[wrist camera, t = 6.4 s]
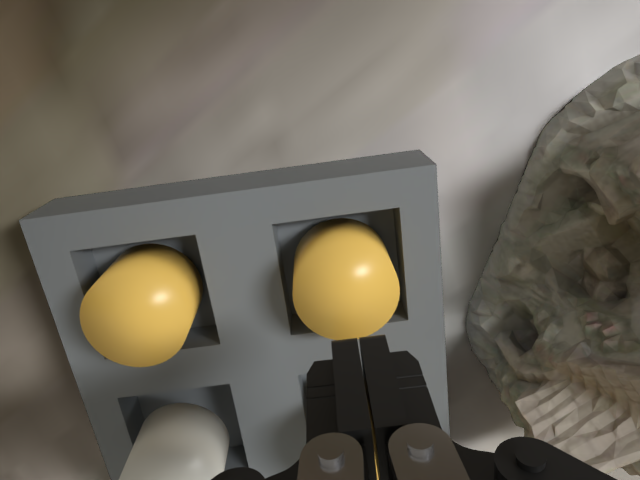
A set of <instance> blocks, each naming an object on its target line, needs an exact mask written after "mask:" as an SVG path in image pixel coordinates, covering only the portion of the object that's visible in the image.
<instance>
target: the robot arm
mask: <svg viewBox="0 0 640 480" xmlns="http://www.w3.org/2000/svg"><path fill="white" fill-rule="evenodd" d="M359 343H360V352H361V360H360V353H359V347H358V341H357V338H351V339H342V340H334V341H331V346H332V359H330V360H321V361H314V362H313V364H312V366H311V367H310V369H309V371H308V372H307V392H306V398H307V401H306V445H305V446H304V448H303V449H302V451H301V454H300V458H299V460H298V461H297V462H296V463H295V464H293V465H292V466H291V467H289V468H288V469H286V470H284V471H282V472H280V473H277V474H275V475H272V476H270V477H267V478H264V476H263V475H262V474H261V473H260V472H258V471H257V470H255V469H252V468H248V467H236V468H231V469H228V470H225V471H223V472H221V473H219V474H218V475H216V476H215V477H214V478H213V479H211V480H377V472H378V478H379V480H617V479H615V478H613V477H611V476H609V475H607V474H605V473H603V472H601V471H600V470H598V469H596V468H594V467H592V466H590V465H588V464H586V463H585V462H583V461H581V460H579V459H577V458H575V457H573V456H571V455H569V454H568V453H566V452H564V451H562V450H560V449H558V448H556V447H554V446H553V445H551V444H549V443H547V442H544V441H542V440H539V439H536V438H531V437H515V438H511V439H508V440H506V441H504V442H502V443H501V444H500V445H499V446H498V447H497V449H496V451H495V453H491V452H484V451H477V450H472V449H469V448H465V447H463V446H461V445H458V444H457V443H455V442H453V441H452V440H451V438H450V437H449V435H448V434H447V433H446V432H445V431H443V430H442V428H441V425H440V422H439V420H438V417H437V414H436V411H435V408H434V405H433V402H432V399H431V396H430V393H429V390H428V387H427V385H426V382H425V379H424V376H423V373H422V370H421V367H420V364H419V361H418V360H417V359H416V358H415V357H414V356H413V355H411V354H410V353H409V352H408V351H407V350H406V351H397V352H390V351H389V347H388V343H387V339H386V336H385V334H384V335H375V336H367V337H359ZM361 361H362V366H361ZM362 370H363V372H362ZM374 453H375V454H374ZM375 459H376V463H375ZM376 466H377V472H376Z"/></svg>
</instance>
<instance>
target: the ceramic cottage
mask: <svg viewBox="0 0 640 480" xmlns="http://www.w3.org/2000/svg"><path fill="white" fill-rule="evenodd" d="M498 239H499V240H498V241H497V242H496V244H495V245H494V246H493V252H491V255H490V257H489V259H488V261H487V263H486V266H485V268H484V270H483V273H482V277H481V278H480V279H479V282H478V285H477V287H476V289H475V292H474V294H473V296H472V298H471V300H470V302H469V307H468V315H467V320H466V328H467V334H468V339H469V342H470V344H471V345H472V349H471V350H472V351H473V352H474V353H475V354H476V357H477V358H478V359H479V360H480V362H481V363H482V364H483V365H484V366H485V367H486V368H487V371H488V374H489V377H490V379H491V381H492V382H494V383H495V385H496V387H497V389H498V390H499V392H500V393H501V398H500V399H501V401H502V402H504V403H505V404H506V405H507V406H508V408H509V410H510V413H511V416H512V419H513V421H514V423H515V424H516V425H517V426H519V427H522V428H524V437H531V438H536V439H539V440H542V441H544V442H547V443H549V444H551V445H553V446H554V447H556V448H558V449H560V450H562V451H564V452H566V453H568V454H569V455H571V456H573V457H575V458H577V459H579V460H581V461H583V462H585V463H586V464H588V465H590V466H592V467H594V468H596V469H598V470H600V471H601V472H603V473H605V474H607V473H609V472H611V471H613V470H615V469H618V468H623V469H624V470H625V471H626V472H627V473H628V474H629V475H639V476H640V55H638V56H636V57H633V58H631V59H629V60H627V61H625V62H623V63H621V64H619V65H617V66H615V67H613V68H612V69H611V70H609V71H608V72H607V73H605V74H604V75H603V76H601V77H600V78H599V79H597V80H596V81H594V82H593V83H592V84H590V85H589V86H588V87H586V88H585V89H584V90H583V91H582V92H580V93H579V94H578V95H576V96H575V97H573V100H572V102H570V103H569V104H567V105H565V108H564V110H562V111H561V112H559V113H558V114H557V115H556V116H555V117H554V118H552V119H551V120H550V121H549V122H548V124H547V125H546V126H545V127H544V129H543V130H542V132H541V134H540V137H539V139H538V141H537V144H536V147H535V148H534V150H533V153H532V155H531V157H530V159H529V161H528V164H527V167H526V170H525V172H524V175H523V176H522V180H521V182H520V184H519V186H518V191H517V193H516V194H515V196H514V198H513V200H512V203H511V206H510V208H509V211H508V213H507V218H506V220H505V221H504V222H503V223H502V225H501V229H500V235H499V237H498Z"/></svg>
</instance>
